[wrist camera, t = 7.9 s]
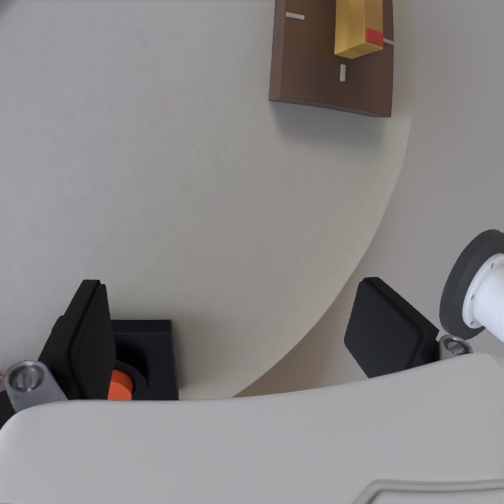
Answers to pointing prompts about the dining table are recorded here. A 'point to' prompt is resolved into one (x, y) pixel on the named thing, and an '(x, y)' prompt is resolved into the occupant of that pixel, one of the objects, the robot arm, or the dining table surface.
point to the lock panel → (327, 62)
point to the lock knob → (358, 27)
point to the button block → (146, 358)
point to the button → (120, 386)
